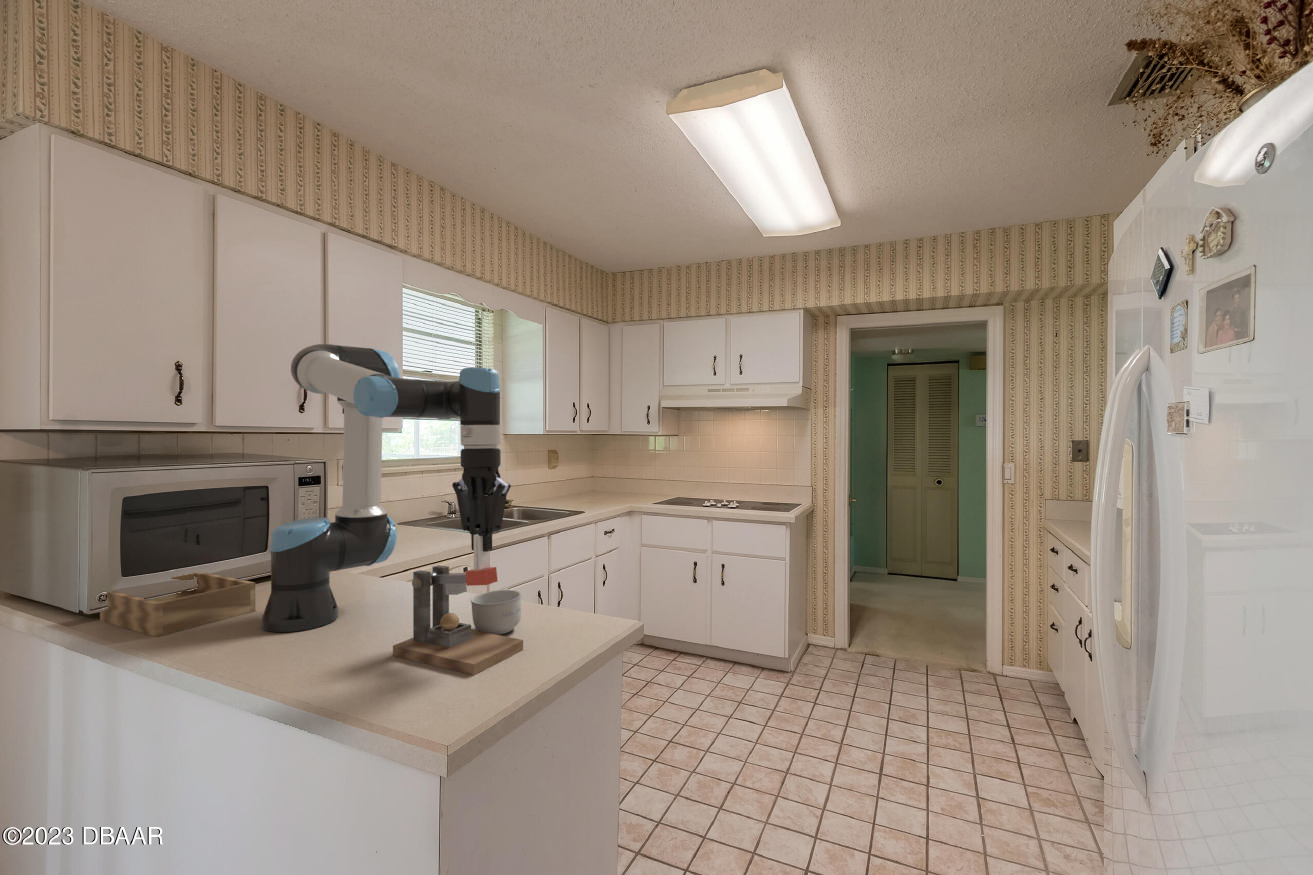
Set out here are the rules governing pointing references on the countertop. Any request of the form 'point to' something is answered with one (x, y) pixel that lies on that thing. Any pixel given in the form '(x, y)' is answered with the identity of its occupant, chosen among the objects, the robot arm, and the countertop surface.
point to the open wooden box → (182, 606)
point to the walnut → (449, 622)
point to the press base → (449, 634)
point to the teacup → (496, 611)
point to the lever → (464, 579)
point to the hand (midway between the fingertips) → (482, 567)
